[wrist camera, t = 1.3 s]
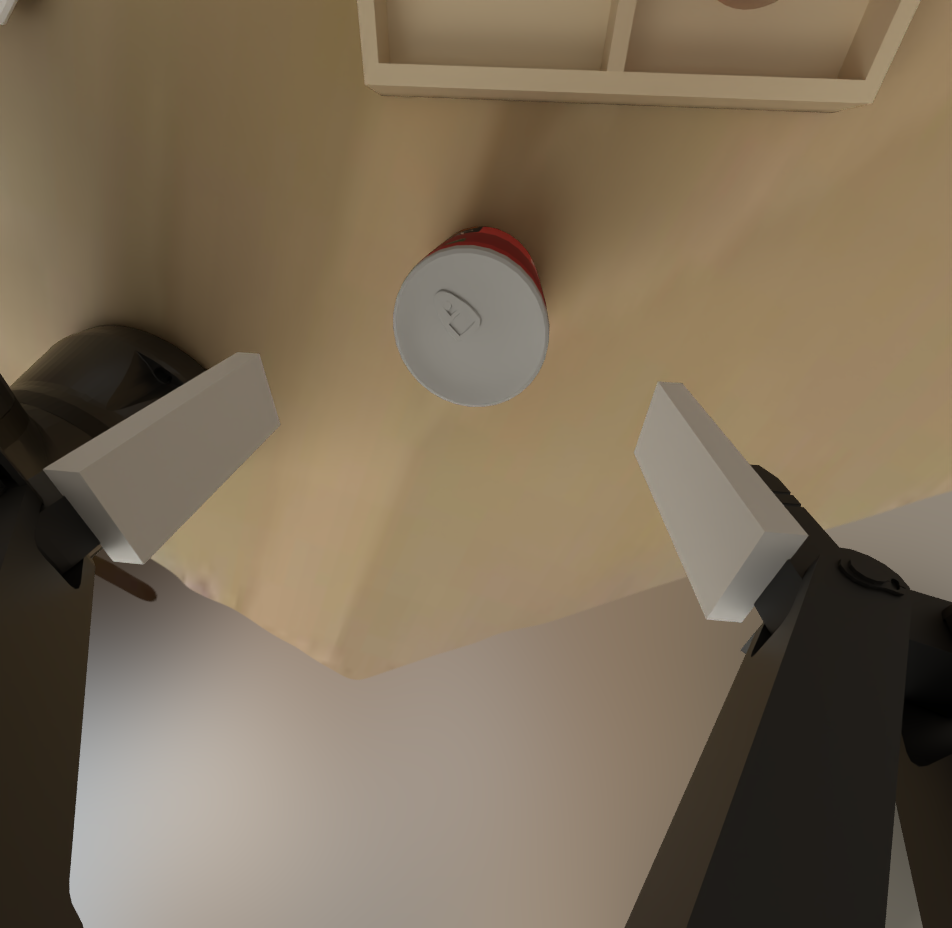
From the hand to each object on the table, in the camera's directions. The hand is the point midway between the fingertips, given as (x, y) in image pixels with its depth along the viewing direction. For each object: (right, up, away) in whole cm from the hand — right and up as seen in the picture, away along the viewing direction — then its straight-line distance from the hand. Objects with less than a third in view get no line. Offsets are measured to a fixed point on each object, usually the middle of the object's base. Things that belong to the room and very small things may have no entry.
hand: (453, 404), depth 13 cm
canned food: (+1, +11, +15) cm, 18 cm away
